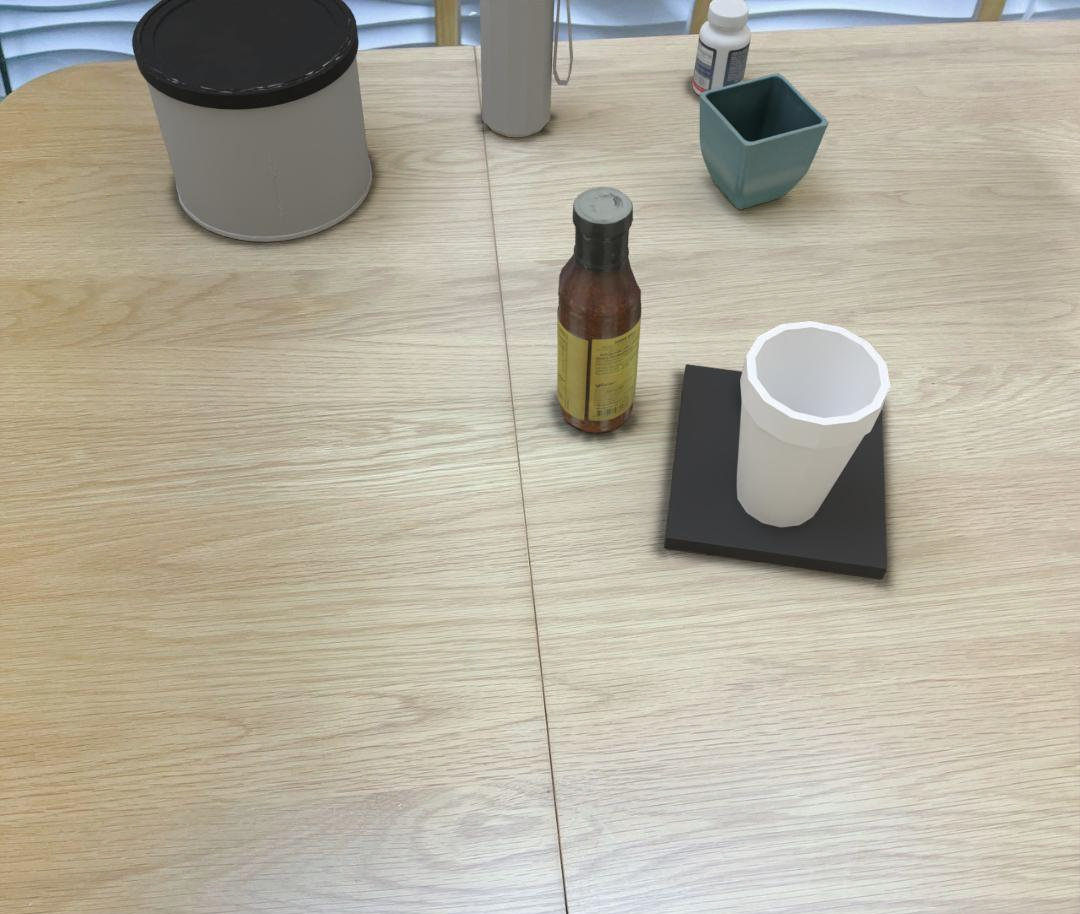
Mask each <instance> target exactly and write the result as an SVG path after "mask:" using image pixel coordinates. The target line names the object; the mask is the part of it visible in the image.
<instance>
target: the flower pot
mask: <svg viewBox="0 0 1080 914" xmlns="http://www.w3.org/2000/svg"><path fill="white" fill-rule="evenodd" d="M828 126H829V121H828V119H827V118H826V117H825V116H824V115H823V114H822V113H821V112H820V111H819V110H818V109H817V108H816V107H815V106H814V105H813V104H812V103H810V101H809V100H808V99H807V98H805V96H803V94H802V93H801V92H800V91H798V89H797V88H796V87H795V86H794V85H793V84H792V83H791V82H790V81H789V80H788V79H787V78H786V77H785V76H784V75H782V74H781V73H779V72H775V73H771V74H767V75H763V76H762V75H761V76H759V77H756V78H752V79H748V80H743V82H740V83H736V84H732V85H729V86H725V87H721V88H717V89H712V90H708V91H705V92H702V93H701V94H700V95H699V145H700V150H701V151H700V152H701V156H702V159H703V162H704V164H705V167H706V169H707V171H708V174H709V176H710V178H711V179H712V182H713V183H714V184H715V185H716V186H717V188H718V189H719V190H720V191H721V192H722V193H723V194H724V196H726V198H727V199H728V201H729V202H730V203H731V204H732V205H733V207H735V208H736V209H738V210H743V209H746V208H751V207H754V206H757V205H760V204H763V203H768V202H771V201H775V200H778V199H781V198H783V197H784V196H785V195H787V194H788V193H789V192H790V191H791V190H793V189H794V188H795V187H796V186H797V185H798V184H799V183H800V182H801V180H802V179H803V178H804V177H805V176H806V174H807V173H808V171H809V169H810V168H811V167H812V165H813V162H814V159H815V157H816V156H817V155H816V154H817V152H818V150H819V148H820V146H821V143H822V141H823V138H824V136H825V133H826V131H827V128H828Z"/></svg>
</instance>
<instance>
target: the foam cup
mask: <svg viewBox="0 0 1080 914" xmlns="http://www.w3.org/2000/svg"><path fill="white" fill-rule="evenodd" d="M741 371H742V375H741V379H740V385H741V399H742V405H741V420H740V436H739V451H738V466H737V499H738V500H739V502H740V503H741V505H742V506H743V508H744V509H745V511H746V512H747V513H748V514H749V515H751V516H752V517H754V518H755V519H757V520H758V521H760V522H762V523H764V524H769V525H773V526H777V527H789V526H797V525H801V524H802V523H804V522H806V521H807V520H809V519H810V518H812V517H814V515H815V513H816V512H817V511H818V509H819V507H820V506H821V504H822V503H823V501H824V499H825V498H826V496H827V495H828V493H829V491H830V490H831V488H832V487H833V485H834V483H835V482H836V480H837V479H838V477H839V475H840V474H841V472H842V471H843V469H844V467H845V466H846V464H847V463H848V461H849V459H850V458H851V456H852V455H853V453H854V451H855V450H856V448H857V447H858V445H859V443H860V442H861V440H862V439H863V437H864V435H866V434H868V433H869V432H870V431H871V429H872V427H873V425H874V423H875V421H876V419H877V417H878V415H879V413H880V411H881V409H882V410H883V406H884V404H885V401H886V399H887V397H888V394H889V392H890V389H891V382H890V375H889V370H888V365H887V362H886V361H885V360H884V359H883V358H882V356H881V355H880V353H878V352H877V350H876V349H875V348H874V347H873V346H872V345H871V343H870V341H867V340H865V339H864V338H862V337H860V336H858V335H856V334H855V333H854V332H851V331H850V330H848V329H846V328H844V327H842V326H838V325H833V324H827V323H822V322H819V321H818V322H817V321H814V320H808V321H799V322H798V321H797V322H789V323H781V324H779V325H776V326H775V327H773V328H772V329H769V330H768V331H765V332H763V333H762V334H760V335H758V336H757V338H756V339H755V341H754V342H753V344H752V346H751V347H750V349H749V350H748V352H747V354H746V356H745V359H744V363H743V368H742V370H741Z"/></svg>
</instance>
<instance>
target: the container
mask: <svg viewBox="0 0 1080 914" xmlns="http://www.w3.org/2000/svg"><path fill="white" fill-rule="evenodd" d="M359 41H360V40H359V33H358V26H357V20H356V17H355V15H354V13H353V11H352V9H351V8H350V6H348V4H347V3H346V2H344V1H343V0H160V1H159V2H157V3H156V4H154V5H153V6H152V7H150V9H148V10H147V11H146V12H145V13H144V14H143V15H142V16H141V18H139V21H138V22H137V24H136V26H135V28H134V30H133V34H132V39H131V46H132V52H133V55H134V58H135V62H136V65H137V68H138V70H139V72H140V74H141V76H142V77H143V79H144V80H145V81H146V84H147V88H148V91H149V95H150V97H151V102H152V105H153V108H154V112H155V115H156V119H157V122H158V125H159V129H160V133H161V137H162V140H163V143H164V146H165V147H164V148H165V150H166V153H167V156H168V161H169V163H170V167H171V170H172V174H173V177H174V181H175V191H176V195H177V198H178V201H179V204H180V205H181V207H182V209H183V210H184V213H186V215H187V216H188V217H190V219H191V220H193V222H195V223H196V224H198V225H199V226H201V227H202V228H204V229H206V230H208V231H210V232H211V233H215V234H217V235H220V236H223V237H226V238H230V239H234V240H241V241H246V242H261V243H262V242H264V243H265V242H267V243H268V242H282V241H289V240H296V239H300V238H305V237H308V236H311V235H314V234H317V233H320V232H322V231H325V230H327V229H329V228H331V227H333V226H336V225H337V224H340V222H342V221H343V220H345V219H346V218H348V217H349V216H350V215H351V214H353V213H354V212H355V211H356V210H357V209H358V208H359V207H360V206H361V205H362V203H363V202H364V201H365V199H366V198H367V195H368V193H369V191H370V189H371V185H372V181H373V171H372V164H371V161H370V158H369V150H368V141H367V135H366V127H365V118H364V109H363V101H362V95H361V94H362V93H361V83H360V76H359V68H358V59H357V56H358V55H357V54H358V50H359V45H360V44H359Z"/></svg>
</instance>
